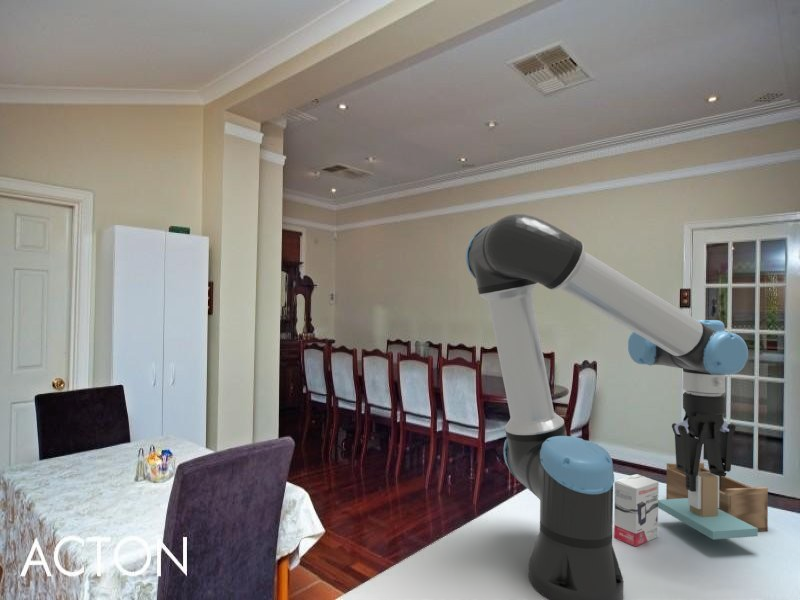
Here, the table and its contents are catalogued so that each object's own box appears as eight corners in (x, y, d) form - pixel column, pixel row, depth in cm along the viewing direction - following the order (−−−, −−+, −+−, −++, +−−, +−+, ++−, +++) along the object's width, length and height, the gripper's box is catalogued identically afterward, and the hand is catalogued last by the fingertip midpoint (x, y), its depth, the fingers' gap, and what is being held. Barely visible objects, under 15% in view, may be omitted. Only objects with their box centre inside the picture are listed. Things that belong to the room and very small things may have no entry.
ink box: (636, 547, 94) (636, 487, 94) (612, 537, 98) (613, 480, 99) (659, 537, 99) (659, 480, 99) (635, 528, 103) (636, 473, 103)
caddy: (727, 533, 101) (727, 490, 101) (666, 500, 119) (666, 463, 119) (767, 531, 103) (767, 488, 103) (701, 498, 121) (701, 462, 121)
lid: (712, 539, 91) (712, 489, 91) (656, 506, 106) (656, 463, 106) (757, 536, 92) (757, 486, 93) (695, 504, 108) (695, 462, 108)
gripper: (682, 396, 95) (682, 515, 94) (753, 395, 98) (753, 511, 97) (655, 390, 102) (655, 500, 101) (722, 389, 105) (722, 496, 104)
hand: (703, 505), depth 99 cm, fingers closed on lid, 3 cm apart
